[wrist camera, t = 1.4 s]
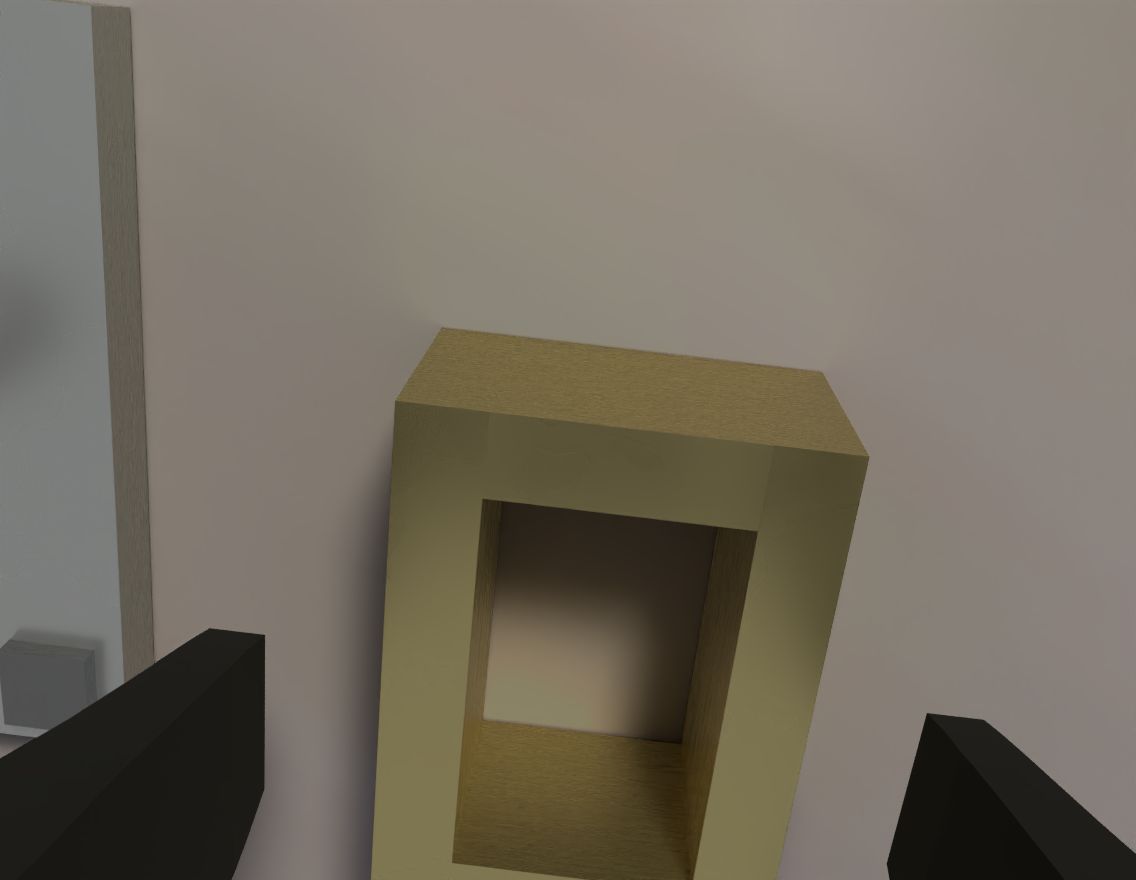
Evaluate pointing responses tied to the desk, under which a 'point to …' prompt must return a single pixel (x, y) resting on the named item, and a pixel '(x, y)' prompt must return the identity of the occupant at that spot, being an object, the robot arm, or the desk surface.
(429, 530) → the link
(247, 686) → the robot arm
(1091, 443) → the desk surface
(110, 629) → the keeper plate
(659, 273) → the desk surface
